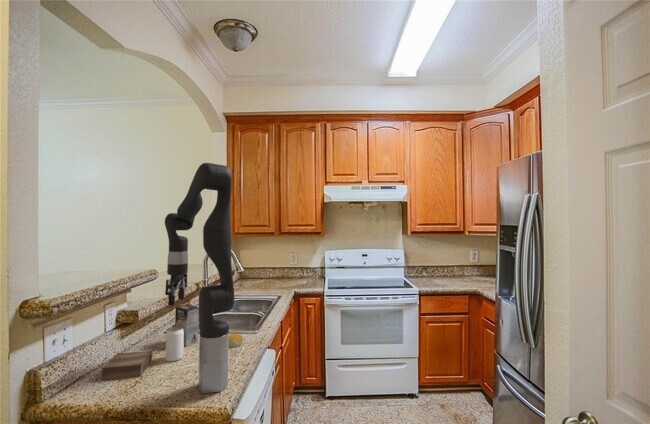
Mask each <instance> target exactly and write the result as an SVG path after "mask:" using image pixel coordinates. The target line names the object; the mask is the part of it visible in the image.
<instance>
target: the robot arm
mask: <svg viewBox="0 0 650 424" xmlns="http://www.w3.org/2000/svg"><path fill="white" fill-rule="evenodd" d="M232 182H233V174H232V171H231V168H230V167H229V166H226V165H225V164H224V165H223V164H217V163H211V162H204V163H201V164H200V165H198V167H197V170H196V172H195V174H194V176H193V178H192V181H191V183H190V186H189V189H188V191H187V193H186V195H185V197H184V199H183V200H182V202H180V204H179V206H178V208H177V211H176V212H174V213H173V212H170V213H168V214H167V215H166V216H165V218H164V227H165V230H166V232H167V238H168V255H167V267H166V269H167V270H166V274H167V275H168V276H169V275H170V278H169V279H168V278H167V279H166V280H165V290H164V291H165V293H164V295H165V296H168V298H167V299H168V302H167V305H168V306H174V305H175V304H176V293H177V291H178V293H177V295H178V296H177V299H178V300H180V301H181V300H183V301H184V300H185V291H186V288H188V271H189V269H188V267H189V253H188V251H189V250H188V248H189V247H188V246H189V240H188V237H186V236H182V235H179V234H178V233H177V231H189V230H191V229H192V228H193V226H194V222H195V221H194V220H195V217H196V216H197V215H198V213H200V211H201V209H202V207H203V204H204V201H203V197H202V193H201V192H203V190H209V191H216V192H217V194H216V195H217V196H216V203H215V206H214V208H213V210H212V211H211V213H210V214H209V216H208V218H207V219H206V220H205V222H204V225H203V230H202V232H203V233H202V242H203V245H202V246H203V249H204V251H205V253H206V255H207V256H208V257H209V259H210V260H211V262H212V263H213V264H214V265H213V266H215V268H216V271H217V272H218V276H219V282H220V283H219V284H214V285H207V286H203V287H202V288H201V289H200V290H199V294H198V307H199V321H198V328H199V349H198V350H199V351H198V352H199V354H198V390H199V391H200V392H201V394H210V393H211V394H212V393H219V392H222V391H223V390H224V389H226V387H227V386H228V383H229V347H228V345H229V336H230V334H229V332H230V325H229V323H228V322H226V321H223V320H219V319H214V314H220V313H224V312H225V313H226V312H229V311H231V310H232V309H233V307H234V304H235V288H234V287H235V285H234V276H233V268H232V267H233V266H232V264H233V263H232V224H231V203H232V202H231V201H232V188H233V187H232V186H233V185H232Z"/></svg>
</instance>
